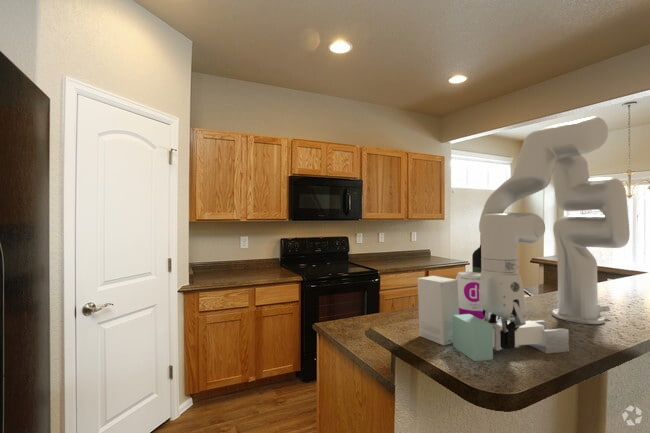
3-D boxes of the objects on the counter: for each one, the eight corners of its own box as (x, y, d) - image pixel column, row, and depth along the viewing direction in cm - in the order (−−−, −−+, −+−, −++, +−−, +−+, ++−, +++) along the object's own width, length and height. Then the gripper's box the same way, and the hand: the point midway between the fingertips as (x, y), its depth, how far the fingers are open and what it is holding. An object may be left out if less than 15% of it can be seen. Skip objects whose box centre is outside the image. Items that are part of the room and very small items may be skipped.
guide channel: (542, 339, 80) (542, 320, 80) (568, 351, 73) (568, 329, 73) (522, 341, 79) (521, 321, 79) (546, 353, 72) (546, 331, 72)
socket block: (470, 345, 77) (469, 313, 77) (492, 359, 69) (492, 324, 69) (453, 346, 76) (452, 315, 76) (474, 361, 68) (473, 326, 68)
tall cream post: (529, 338, 78) (528, 317, 78) (546, 346, 73) (546, 324, 73) (466, 343, 75) (466, 322, 75) (480, 351, 70) (480, 329, 70)
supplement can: (491, 331, 86) (490, 276, 86) (459, 329, 88) (458, 275, 88) (482, 322, 94) (482, 271, 94) (453, 320, 96) (452, 271, 96)
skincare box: (461, 341, 79) (460, 279, 79) (442, 347, 76) (441, 282, 76) (435, 331, 86) (434, 274, 87) (417, 335, 83) (416, 276, 84)
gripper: (543, 271, 66) (544, 358, 66) (489, 260, 83) (490, 330, 83) (512, 272, 65) (513, 361, 65) (463, 261, 82) (464, 332, 81)
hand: (500, 343), depth 74 cm, fingers closed on tall cream post, 4 cm apart
